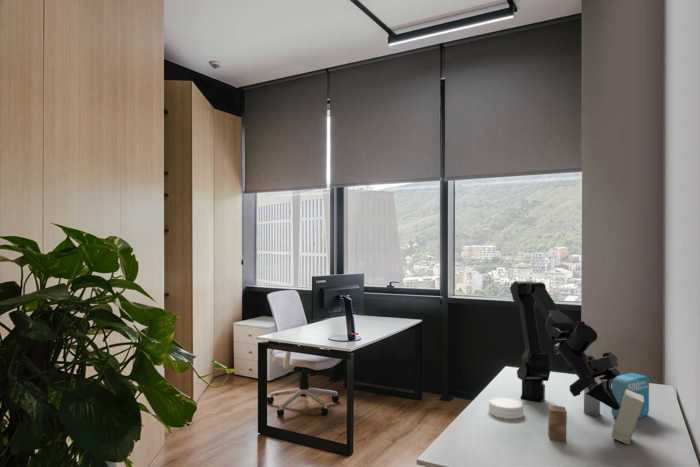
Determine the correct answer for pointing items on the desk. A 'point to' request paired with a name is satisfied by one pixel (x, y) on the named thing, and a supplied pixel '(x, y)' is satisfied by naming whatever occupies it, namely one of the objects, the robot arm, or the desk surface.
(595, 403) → the grey cylinder
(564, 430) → the walnut block
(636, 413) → the skincare box
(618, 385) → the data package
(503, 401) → the coaster
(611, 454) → the desk surface
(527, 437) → the desk surface
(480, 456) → the desk surface
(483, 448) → the desk surface
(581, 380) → the robot arm
